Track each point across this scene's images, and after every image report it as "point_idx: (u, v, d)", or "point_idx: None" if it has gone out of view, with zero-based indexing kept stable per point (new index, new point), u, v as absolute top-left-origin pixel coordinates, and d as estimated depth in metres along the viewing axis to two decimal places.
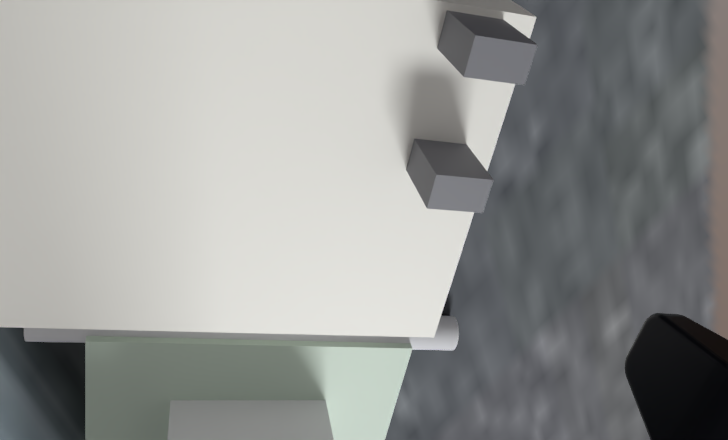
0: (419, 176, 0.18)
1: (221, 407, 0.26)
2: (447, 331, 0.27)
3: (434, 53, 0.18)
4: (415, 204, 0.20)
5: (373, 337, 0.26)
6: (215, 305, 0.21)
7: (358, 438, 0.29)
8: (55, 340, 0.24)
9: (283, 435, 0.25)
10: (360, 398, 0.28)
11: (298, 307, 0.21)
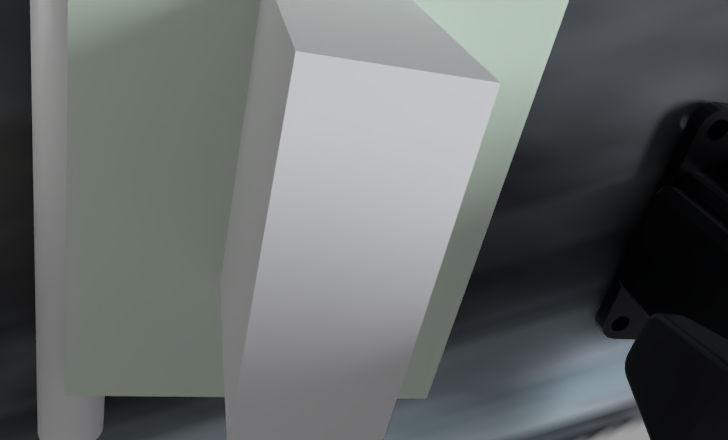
0: None
1: (232, 212, 0.12)
2: None
3: None
4: None
5: None
6: None
7: None
8: (81, 417, 0.15)
9: (256, 129, 0.10)
10: None
11: None
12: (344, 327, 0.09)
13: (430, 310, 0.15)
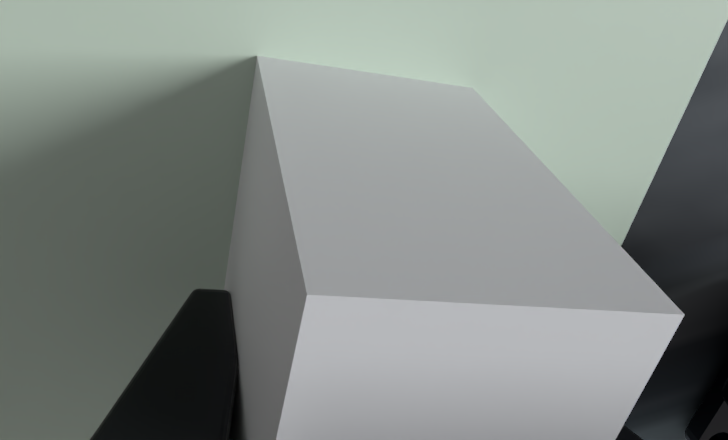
0: None
1: None
2: None
3: None
4: None
5: None
6: None
7: None
8: None
9: (241, 311, 0.06)
10: None
11: None
12: None
13: None
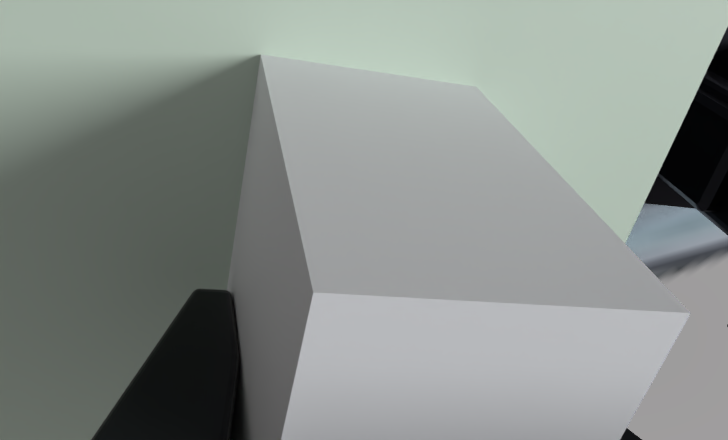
0: None
1: None
2: None
3: None
4: None
5: None
6: None
7: None
8: None
9: (245, 310, 0.06)
10: None
11: None
12: None
13: None
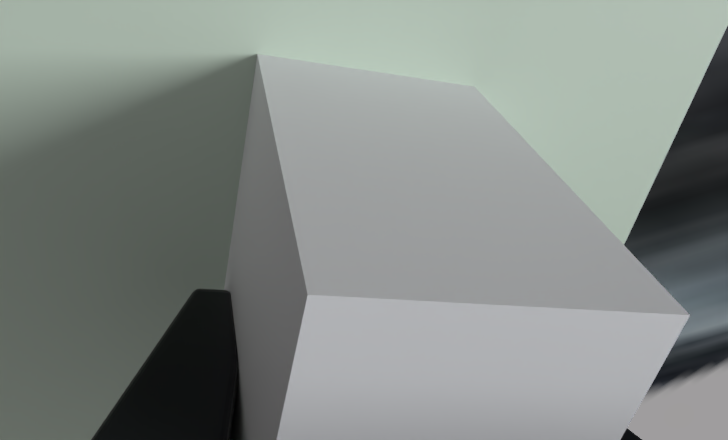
0: None
1: None
2: None
3: None
4: None
5: None
6: None
7: None
8: None
9: (241, 311, 0.06)
10: None
11: None
12: None
13: None
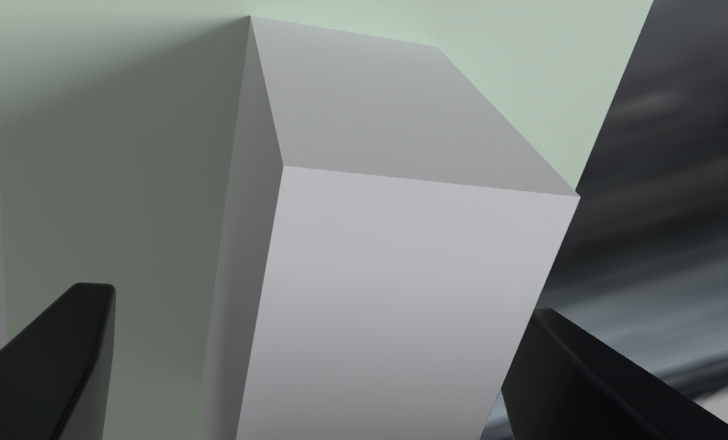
0: None
1: (213, 307, 0.10)
2: None
3: None
4: None
5: None
6: None
7: None
8: None
9: (237, 227, 0.08)
10: None
11: None
12: None
13: None
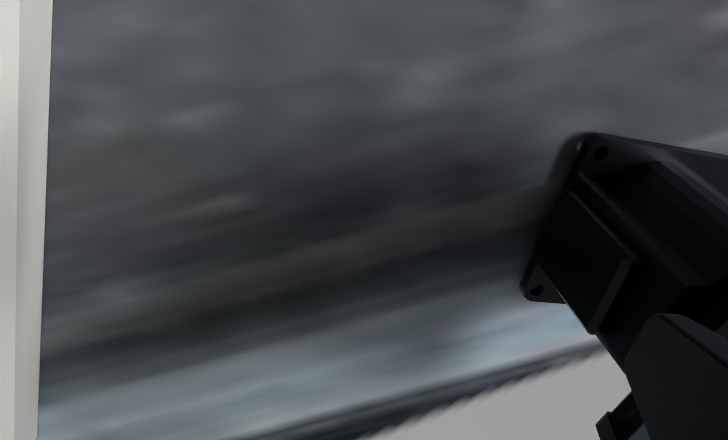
0: None
1: None
2: None
3: None
4: None
5: None
6: None
7: None
8: None
9: None
10: None
11: None
12: None
13: None
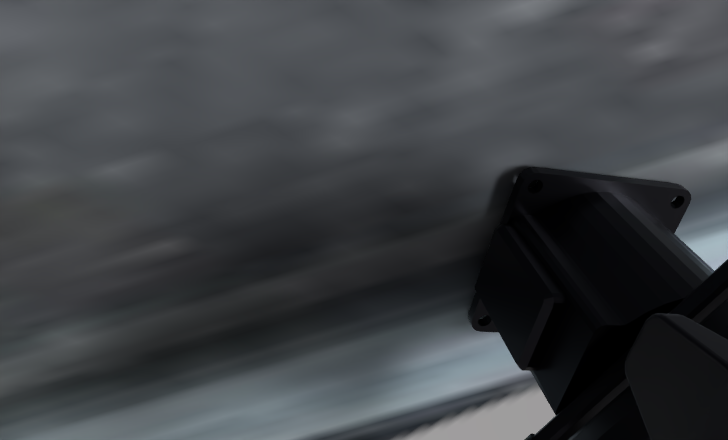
0: None
1: None
2: None
3: None
4: None
5: None
6: None
7: None
8: None
9: None
10: None
11: None
12: None
13: None
